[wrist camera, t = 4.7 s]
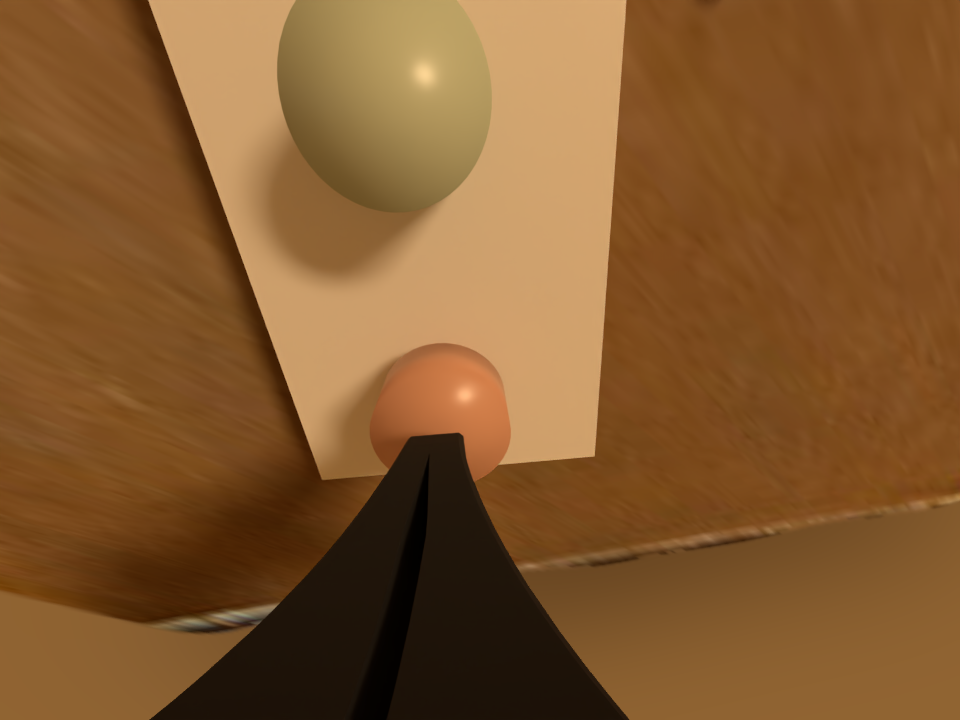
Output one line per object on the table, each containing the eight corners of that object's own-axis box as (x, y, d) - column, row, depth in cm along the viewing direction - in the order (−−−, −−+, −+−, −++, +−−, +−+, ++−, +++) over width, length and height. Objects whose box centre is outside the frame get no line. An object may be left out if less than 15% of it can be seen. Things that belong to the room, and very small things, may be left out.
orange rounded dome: (395, 450, 14) (384, 493, 12) (371, 348, 12) (355, 381, 10) (507, 440, 14) (514, 481, 12) (501, 337, 12) (507, 368, 10)
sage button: (339, 211, 10) (311, 220, 8) (292, 11, 8) (243, -32, 6) (492, 196, 10) (498, 203, 8) (479, -8, 8) (483, -56, 6)
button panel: (336, 447, 17) (321, 480, 15) (-32, -696, 6) (-227, -1034, 5) (581, 426, 17) (594, 456, 15) (636, -768, 6) (705, -1141, 4)
